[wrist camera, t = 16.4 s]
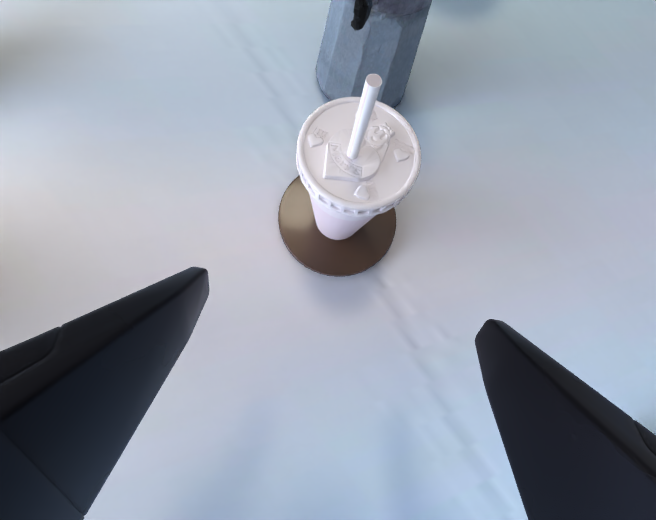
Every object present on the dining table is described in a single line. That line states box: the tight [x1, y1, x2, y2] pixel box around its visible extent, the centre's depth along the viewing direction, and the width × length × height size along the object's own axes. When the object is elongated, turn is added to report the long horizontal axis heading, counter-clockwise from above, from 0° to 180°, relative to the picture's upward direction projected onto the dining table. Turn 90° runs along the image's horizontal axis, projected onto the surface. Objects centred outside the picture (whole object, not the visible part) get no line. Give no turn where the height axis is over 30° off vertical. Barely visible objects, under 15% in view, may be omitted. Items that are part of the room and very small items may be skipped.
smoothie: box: [296, 74, 421, 240], centre depth 16 cm, size 6×6×14 cm
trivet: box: [278, 175, 396, 276], centre depth 23 cm, size 10×10×1 cm
